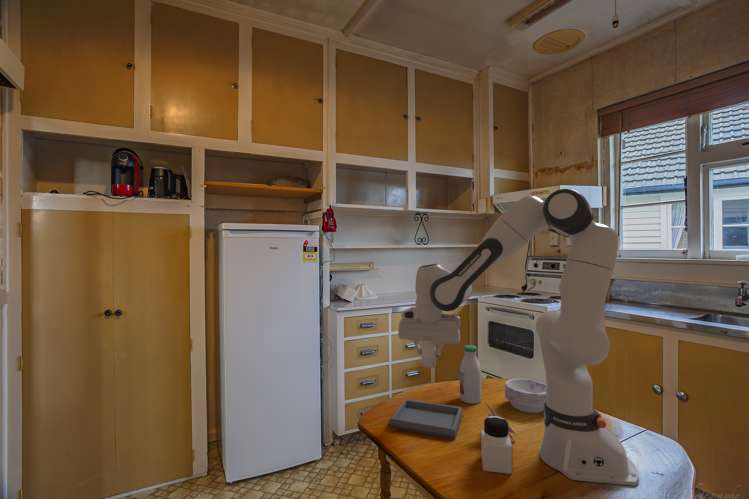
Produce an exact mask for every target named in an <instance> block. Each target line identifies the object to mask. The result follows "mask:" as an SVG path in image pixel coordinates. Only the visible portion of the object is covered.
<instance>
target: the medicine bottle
mask: <svg viewBox="0 0 749 499" xmlns="http://www.w3.org/2000/svg"><path fill="white" fill-rule="evenodd" d="M497 416H498V415H497ZM497 416H487V417H486V418H485V419H484V420H483V424H484V425H483V430H481V431H480V448H481V449H480V457H481V465H482V470H483V471H484V472H489V473H497V474H498V473H501V474H506V475H507V474H509V475H512V474H513V444H512V441H511V438H510V436H509V434H510V433H509V432H508V426H509V422H508V421H507V420H506V419H505V418H504V417H500V416H498V417H497ZM508 433H509V434H508Z"/></svg>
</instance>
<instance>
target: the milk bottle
mask: <svg viewBox="0 0 749 499" xmlns="http://www.w3.org/2000/svg"><path fill="white" fill-rule="evenodd" d="M463 350H464V351H463V353H464V355H463V358H462V361H461V362H460V367H459V399H460V401H461V402H463V403H465V404H471V405H475V404H480V403H481V401H482V367H481V364H480V362H479V360H478V357H477V352H478V347H477V346H476V345H473V344H466V345H464V346H463Z"/></svg>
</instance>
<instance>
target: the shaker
mask: <svg viewBox="0 0 749 499" xmlns="http://www.w3.org/2000/svg"><path fill="white" fill-rule="evenodd" d="M436 345H437V342H433V341H432V337H426V336H423V341H421V348H422V354H421V367H423V368H428V369H431V368H435V367H436V364H437V362H436V361H437V360H436V358H437V356H435V350H436V349H437V346H436Z"/></svg>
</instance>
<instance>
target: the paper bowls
mask: <svg viewBox="0 0 749 499" xmlns="http://www.w3.org/2000/svg"><path fill="white" fill-rule="evenodd" d="M504 397H505V399H506V400H507V401H508V402H510V403H511V405H512V407H513V408H514V409H516V410H517V411H520V412H522V413H528V414H538V413H541V412H544V403H545V402H546V383H544V382H542V381H538V380H534V379H528V378H511V379H507V380H506V381H505V383H504Z"/></svg>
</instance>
